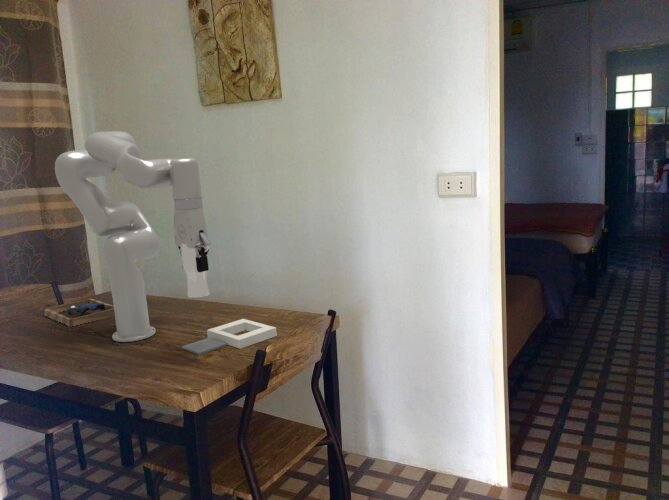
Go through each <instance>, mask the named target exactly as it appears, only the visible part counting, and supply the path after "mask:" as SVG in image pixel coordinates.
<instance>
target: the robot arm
mask: <svg viewBox="0 0 669 500" xmlns="http://www.w3.org/2000/svg"><path fill="white" fill-rule="evenodd" d="M115 172H118V174H119V175H120V178H121V179H122V180H123V181H124V182H126V183H128V184H131V185H133V186H135V187H137V188H138V187H139V188H140V189H146V190H149V189H151V190H152V189H156V188H163V187H164V188H165V187H171V194H172V203H173V235H174V243H175V246H177V247H178V250H179V255H180V256H181V250H180V243H186V244H187V247H188V248H195V252H196V254H197V258H196V263H197V271H198V272H203V271H207V272H208V271H209V261H208V260H209V259H208V256H209V251H210V247H211V244H212V243H211V241H210V240H209V239H208V228H207V222H206V219H205V213H204V207H203V206H204V205H203V197H202V187H201V178H200V169H199V163H198V160H197V159H195V158H194V157H185V158H182V157H181V158H169V157H167V158H155V159H146V160H145V159H142V152H141V150H140V148H139V147H138V145H137V144H136V141H135V139H134V137H133V136H132V135H131V134H130V133H128V132H127V131H123V130H122V131H121V130H117V131H115V130H114V131H113V130H112V131H111V130H110V131H96V132H94V133H91V134H90V135H88V137H87V138H86V140H85V142H84V149H77V150H76V149H75V150H69V151H65V152H63V153H61V154H60V155H58V156H57V157H56V159H55V162H54V173H55V177H56V179H57V182H58V184H59V185H60V188H61V189H62V190H63V191H64V193H65V194H66V195H67V196H68V197H69V198H70V199H71V200H72V202H73V203H74V204H75V206H76V207H77V208H78V210H79V212H80V214H81V215H82V217H83V218H84V219H85V221H86V223H87V224H88V226H89V227H90V228H91V230H92V232H94V233H95V234H96V235H97V236H99V237H106V236H107V238H106V239H104V241H103V243H102V245H101V253H102V257H103V260H104V263H105V266H106V269H107V272H108V273H107V274H108V277H109V283H110V291H111V297H112V305H113V306H114V313H115V316H114V319H115V325H116V326H115V327H116V331H114V333H112V334H111V339H112V340H113V341H115V342H118V343H127V342H128V343H129V342H136V341H142V340H144V339H148V338H150V337H152V336H154V335H155V334H156V327H154V326H151V325H150V324H151V323H150V319H149V317H150V315H149V310H148V303H147V294H146V287H145V286H146V285H145V281H144V276H143V273H142V272H141V270H140V269H139V268H138V267H137V265H136V263H138V262H141V261H145V260H150V259H153V258H154V257H156V256H157V255H158V254H159V253H160V251H161V243H160V238H159V236H158V235H157V232H156V231H155V230H154V228H153V227H152V225H151V224H150V222H149V221H148V219H147V218H146V216H145V215H144V214H143V212H142V210H141V209H140V208H139V207H138V206H137V205H136V204H135V203H132V202H130V201H118V202H112V201H110V200H109V199H108V198H107V197H106V195H105V194H104V192H103V190H102V189H100V188H99V187H98V186H97V185H96V184H94V182H93V183H92V182H91V181H89V180H87V179H89V178H98V177H99V178H100V177H106V176H109V175H110V176H111V174H113V173H115ZM200 242H201V243H202V245H198V243H200ZM197 245H198V246H197ZM199 248H201V251H199ZM181 267H182V268H183V266H181Z"/></svg>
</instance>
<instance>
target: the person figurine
mask: <svg viewBox="0 0 669 500" xmlns="http://www.w3.org/2000/svg"><path fill="white" fill-rule="evenodd" d="M102 309H104V310H102ZM98 310H101V311H105V306H104V304H103V303H97V304H87V305H77V307H75V306H71V308H67V311H66V313H67V315H68V314H70V315H71V314H72V311H76V312H77V311H80V312H81V314H80V315H79V317H81V316H84V314H85V313H86V312H87V311H92V312H96V311H98Z"/></svg>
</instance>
